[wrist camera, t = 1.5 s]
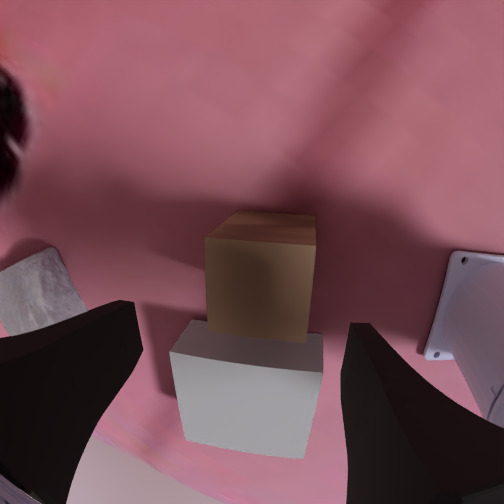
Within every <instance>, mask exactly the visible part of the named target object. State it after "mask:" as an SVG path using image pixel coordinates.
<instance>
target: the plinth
mask: <svg viewBox="0 0 504 504" xmlns="http://www.w3.org/2000/svg"><path fill="white" fill-rule="evenodd" d="M169 354H170V360H171V366H172V372H173V378H174V384H175V390H176V395H177V400H178V406H179V411H180V416H181V421H182V425H183V430H184V435H185V439H186V440H188V441H192V442H197V443H201V444H205V445H210V446H215V447H220V448H225V449H230V450H236V451H242V452H248V453H254V454H261V455H269V456H277V457H287V458H297V459H303V457H304V454H305V450H306V446H307V442H308V438H309V434H310V430H311V426H312V422H313V418H314V413H315V409H316V405H317V400H318V396H319V391H320V386H321V381H322V376H323V334H316V333H307V338H306V343H299V342H289V341H279V340H269V339H260V338H252V337H244V336H236V335H229V334H221V333H214V332H208V323H207V321H201V320H194V319H192V320H191V321H190V323H189V324H188V326H187V327H186V328H185V330H184V331H183V333H182V334H181V335H180V337H179V338H178V340H177V341H176V343H175V344H174V345H173V347H172V348H171V350H170V351H169Z"/></svg>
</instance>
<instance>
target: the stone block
mask: <svg viewBox="0 0 504 504" xmlns="http://www.w3.org/2000/svg"><path fill="white" fill-rule="evenodd" d="M84 312H87V308H86V305H85V304H84V302H83V300H82V299H81V297H80V296H79V294H78V291H77V290H76V288H75V287H74V286H73V284H72V281H71V279H70V276H69V274H68V271H67V269H66V267H65V265H64V264H63V263H62V260H61V257H60V255H59V252H58V250H57V249H56V248H55V247H49V248H47V249H44V250H42V251H40V252H38V253H36V254H33V255H31V256H29V257H27V258H25V259H23V260H21V261H19V262H17V263H15V264H14V265H12V266H10V267H8V268H6V269H4V270H3V271H1V272H0V320H1V322H2V324H3V325H4V328H5V330H6V331H7V333H8V334H9V335H10V336H15V335H19V334H23V333H27V332H31V331H34V330H38V329H41V328H44V327H47V326H50V325H52V324H55V323H58V322H61V321H63V320H66V319H69V318H71V317H74V316H76V315H79V314H81V313H84Z"/></svg>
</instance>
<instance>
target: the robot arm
mask: <svg viewBox="0 0 504 504" xmlns="http://www.w3.org/2000/svg"><path fill="white" fill-rule="evenodd" d="M463 257H465V261H464V262H462V263H461V260H462V258H463ZM142 352H143V346H142V341H141V336H140V331H139V326H138V321H137V316H136V310H135V304H134V302H130V301H123V300H118V301H114V302H111V303H108V304H105V305H102V306H99V307H97V308H94V309H92V310H89V311H87V312H84V313H81V314H79V315H76V316H74V317H71V318H69V319H66V320H63V321H61V322H58V323H55V324H52V325H50V326H47V327H44V328H41V329H38V330H34V331H31V332H27V333H23V334H19V335H15V336H9V337H3V338H0V504H40V503H41V504H66V501H67V497H68V494H69V490H70V486H71V483H72V480H73V477H74V474H75V471H76V469H77V466H78V463H79V461H80V459H81V456H82V454H83V452H84V449H85V447H86V445H87V442H88V441H89V438H90V437H91V435H92V433H93V431H94V429H95V427H96V425H97V423H98V421H99V420H100V418H101V416H102V415H103V413H104V412H105V410H106V409H107V408H108V406H109V405H110V403H111V402H112V401H113V399H114V398H115V396H116V395H117V393H118V392H119V391H120V389H121V388H122V386H123V385H124V383H125V382H126V381H127V379H128V378H129V376H130V375H131V373H132V372H133V370H134V368H135V366H136V364H137V362H138V360H139V358H140V356H141V354H142ZM436 352H438V353H437V354H435V353H436ZM434 354H435V355H434ZM423 355H424V358H425V359H426V360H455V361H456V363H457V365H458V366H459V368H460V370H461V372H462V374H463V376H464V378H465V380H466V382H467V384H468V386H469V388H470V390H471V392H472V394H473V396H474V398H475V401H476V403H477V405H478V407H479V409H480V411H481V414H482V416H483V418H484V419H483V418H481V417H479V416H477V415H476V414H474V413H472V412H471V411H469V410H467V409H466V408H464V407H462V406H461V405H459V404H457V403H456V402H454V401H453V400H451V399H450V398H449V397H447V396H446V395H444V394H443V393H442V392H440V391H439V390H438V389H436V388H435V387H434V386H433V385H431V384H430V383H429V382H428V381H426V380H425V379H424V378H423V377H422V376H421V375H420V374H419V373H417V372H416V371H415V370H414V369H413V368H412V367H411V366H410V365H409V364H408V363H407V362H406V361H405V360H404V359H403V358H402V357H401V356H400V355H399V354H398V353H397V352H396V351H395V350H394V349H393V348H392V347H391V346H390V345H389V344H388V343H387V341H386V340H385V339H384V338H383V337H382V336H381V335H380V334H379V333H378V332H377V331H376V329H375V328H374V327H373V326H372V325H371V324H370V323H350V328H349V334H348V339H347V344H346V349H345V354H344V359H343V364H342V369H341V405H342V413H343V422H344V430H345V438H346V447H347V457H348V484H347V501H346V504H504V255H494V254H485V253H476V252H466V251H454V252H453V253H452V254H451V256H450V259H449V264H448V268H447V273H446V277H445V281H444V285H443V289H442V293H441V297H440V301H439V304H438V308H437V312H436V315H435V318H434V322H433V325H432V328H431V331H430V335H429V338H428V341H427V344H426V347H425V349H424V353H423ZM20 489H21V490H22V491H21V490H20ZM24 492H25V493H26V494H25V493H24ZM27 494H28V495H29V496H31V497H32V498H31V497H29V496H28V495H27ZM33 498H34V499H35V500H37V501H38V502H40V503H38V502H37V501H35V500H34V499H33Z"/></svg>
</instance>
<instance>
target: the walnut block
mask: <svg viewBox="0 0 504 504" xmlns="http://www.w3.org/2000/svg"><path fill="white" fill-rule="evenodd" d="M204 255H205V282H206V304H207V323H208V332H214V333H221V334H229V335H236V336H244V337H252V338H260V339H269V340H279V341H289V342H299V343H306V338H307V330H308V322H309V313H310V305H311V295H312V286H313V276H314V266H315V255H316V220H315V215H304V214H290V213H274V212H257V211H239V210H238V211H237V212H235V213H234V214H233V215H231V216H230V217H229V218H228V219H226V220H225V221H224V222H223V223H222V224H220V225H219V226H218V227H217V228H215V229H214V230H213V231H212V232H210V233H209V234H208V235H207V236H206V237H204Z"/></svg>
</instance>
